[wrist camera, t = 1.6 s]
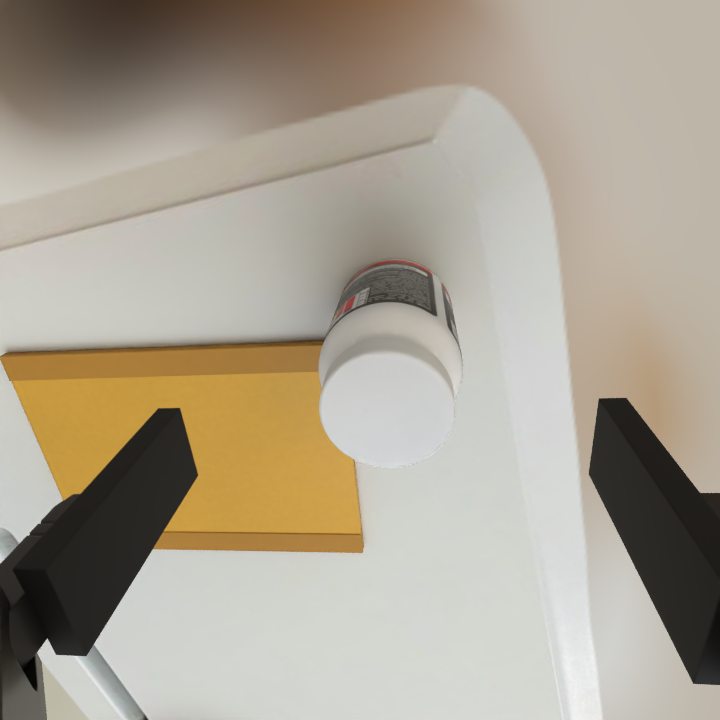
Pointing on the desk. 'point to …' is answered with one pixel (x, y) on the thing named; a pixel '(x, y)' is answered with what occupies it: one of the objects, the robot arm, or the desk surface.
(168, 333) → the desk surface
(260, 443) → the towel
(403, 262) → the pill bottle
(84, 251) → the desk surface
